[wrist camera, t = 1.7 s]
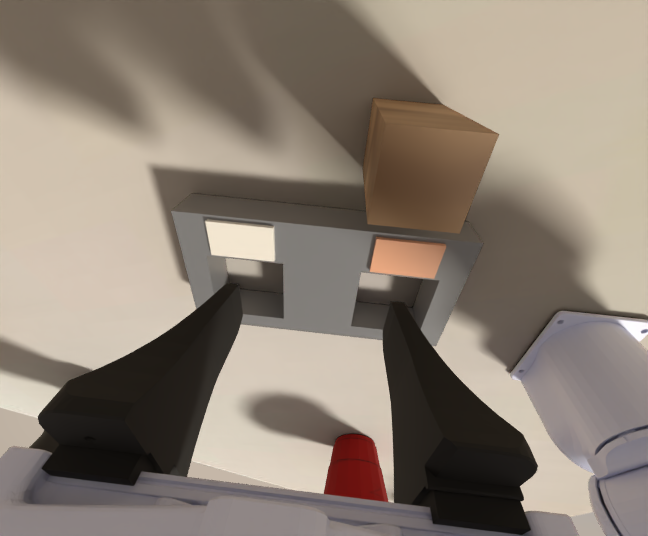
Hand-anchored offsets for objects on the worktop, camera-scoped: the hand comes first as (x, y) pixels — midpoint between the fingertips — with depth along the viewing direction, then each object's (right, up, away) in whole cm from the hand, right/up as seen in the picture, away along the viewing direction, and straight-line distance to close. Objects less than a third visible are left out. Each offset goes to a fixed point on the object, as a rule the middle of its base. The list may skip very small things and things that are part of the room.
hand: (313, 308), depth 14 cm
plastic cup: (+5, -23, +28) cm, 37 cm away
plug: (+5, +10, +4) cm, 12 cm away
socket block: (0, +2, +10) cm, 10 cm away
